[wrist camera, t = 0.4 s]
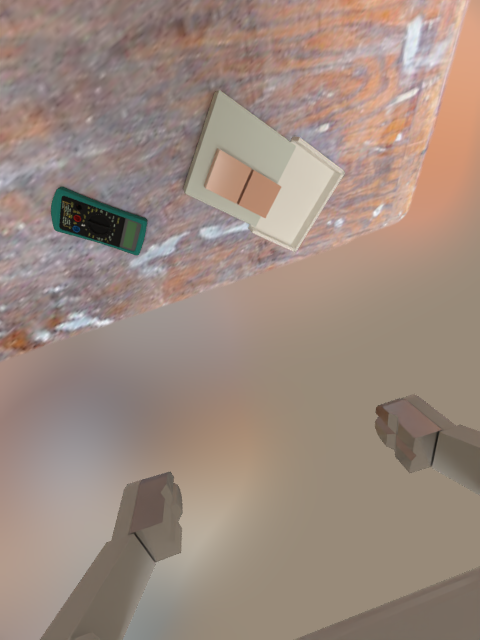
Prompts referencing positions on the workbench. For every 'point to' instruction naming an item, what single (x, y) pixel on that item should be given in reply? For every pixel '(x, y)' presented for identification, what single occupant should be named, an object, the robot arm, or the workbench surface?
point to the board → (236, 152)
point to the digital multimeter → (97, 221)
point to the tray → (299, 196)
